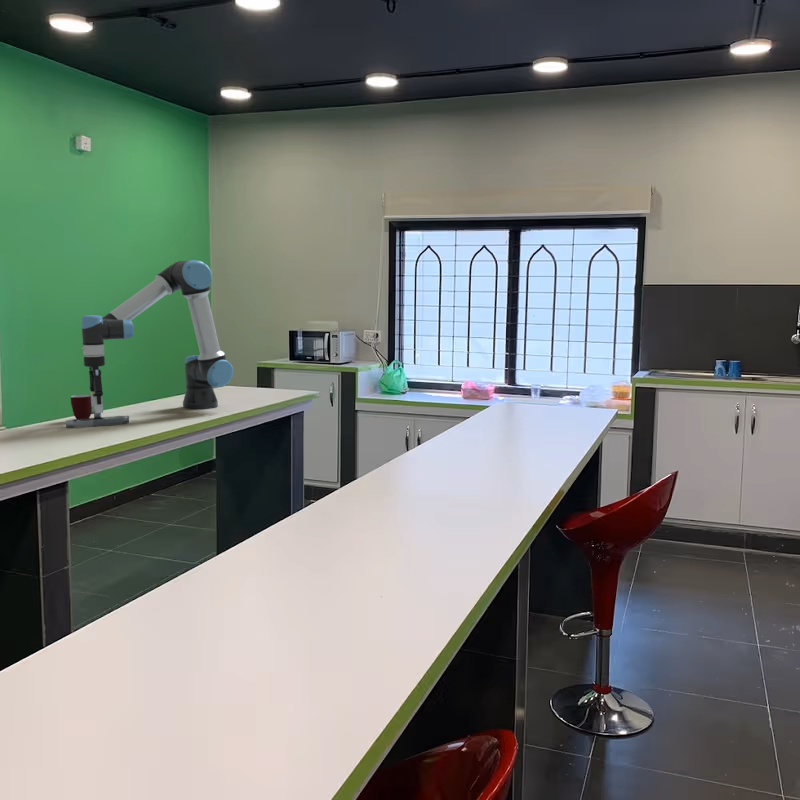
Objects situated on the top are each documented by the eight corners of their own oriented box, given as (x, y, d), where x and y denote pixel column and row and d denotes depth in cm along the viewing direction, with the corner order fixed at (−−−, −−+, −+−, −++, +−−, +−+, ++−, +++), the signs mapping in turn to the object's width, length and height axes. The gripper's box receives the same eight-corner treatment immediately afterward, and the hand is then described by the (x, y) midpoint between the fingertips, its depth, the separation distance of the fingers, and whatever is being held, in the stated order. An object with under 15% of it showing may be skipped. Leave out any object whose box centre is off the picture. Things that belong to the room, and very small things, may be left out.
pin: (102, 423, 309) (100, 391, 307) (103, 425, 306) (101, 392, 304) (92, 424, 308) (90, 392, 306) (93, 426, 305) (91, 393, 303)
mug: (98, 417, 324) (96, 393, 322) (101, 420, 317) (100, 395, 315) (70, 419, 318) (69, 395, 317) (73, 422, 312) (72, 397, 310)
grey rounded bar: (128, 421, 314) (127, 415, 314) (130, 423, 310) (129, 417, 310) (65, 426, 304) (65, 419, 304) (66, 428, 299) (66, 422, 299)
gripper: (80, 353, 312) (83, 406, 315) (86, 358, 290) (90, 415, 293) (100, 352, 316) (103, 405, 319) (108, 358, 294) (111, 414, 297)
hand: (97, 410), depth 306 cm, fingers open, 13 cm apart
